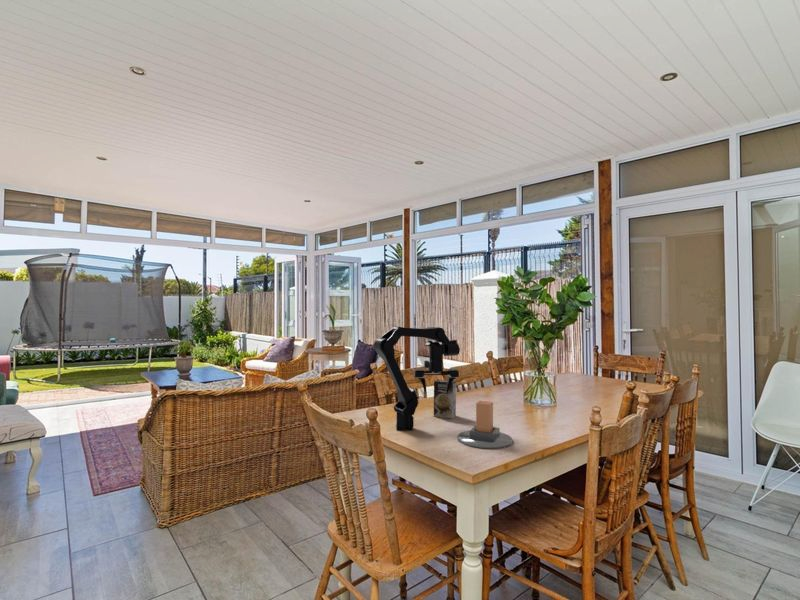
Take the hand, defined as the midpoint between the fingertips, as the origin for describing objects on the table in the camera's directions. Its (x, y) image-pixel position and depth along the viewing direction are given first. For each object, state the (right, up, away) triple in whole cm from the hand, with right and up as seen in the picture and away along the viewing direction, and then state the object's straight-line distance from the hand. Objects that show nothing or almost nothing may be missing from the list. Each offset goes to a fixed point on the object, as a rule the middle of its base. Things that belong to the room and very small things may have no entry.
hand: (436, 393), depth 184 cm
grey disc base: (+16, -13, -22) cm, 30 cm away
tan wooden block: (+16, -12, -22) cm, 30 cm away
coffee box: (+5, -14, +13) cm, 20 cm away
